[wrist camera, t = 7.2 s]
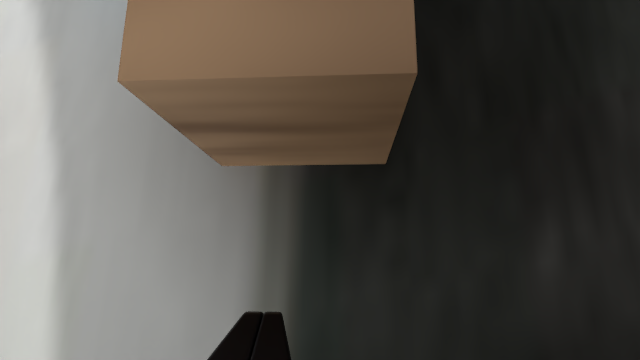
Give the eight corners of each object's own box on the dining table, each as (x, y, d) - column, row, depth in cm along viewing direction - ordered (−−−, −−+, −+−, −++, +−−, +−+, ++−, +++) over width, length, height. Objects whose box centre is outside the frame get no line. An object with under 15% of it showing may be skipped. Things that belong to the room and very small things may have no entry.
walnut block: (385, 164, 17) (417, 73, 9) (222, 166, 17) (117, 81, 9) (379, -21, 19) (402, -228, 11) (233, -15, 19) (154, -209, 11)
